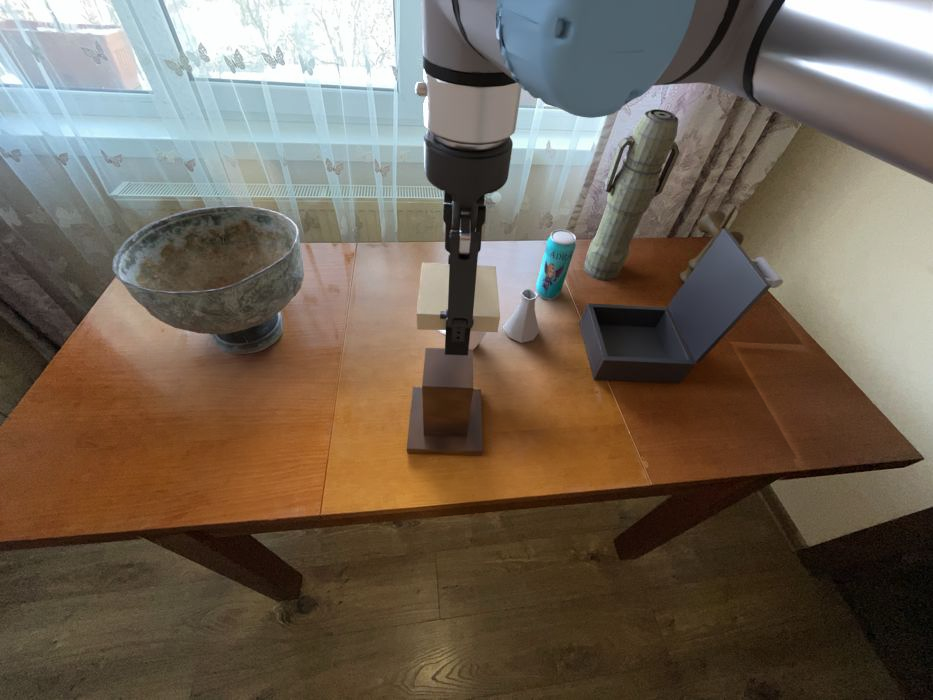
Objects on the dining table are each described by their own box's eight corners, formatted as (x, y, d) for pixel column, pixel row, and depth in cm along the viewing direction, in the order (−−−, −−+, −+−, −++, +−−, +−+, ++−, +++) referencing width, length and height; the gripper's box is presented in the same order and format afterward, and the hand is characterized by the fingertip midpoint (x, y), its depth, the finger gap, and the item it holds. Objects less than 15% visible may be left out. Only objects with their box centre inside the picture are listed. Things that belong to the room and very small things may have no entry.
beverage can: (532, 297, 90) (546, 240, 79) (537, 282, 94) (551, 225, 83) (557, 304, 89) (575, 247, 78) (561, 288, 93) (579, 232, 82)
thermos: (630, 280, 97) (704, 124, 70) (583, 281, 95) (642, 122, 69) (617, 258, 103) (682, 106, 76) (573, 258, 101) (623, 104, 75)
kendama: (684, 293, 95) (731, 217, 80) (670, 267, 101) (712, 193, 86) (708, 294, 95) (760, 219, 80) (693, 269, 102) (739, 194, 86)
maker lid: (766, 285, 58) (809, 291, 59) (723, 228, 68) (761, 234, 69) (695, 362, 72) (731, 366, 73) (667, 305, 82) (699, 309, 83)
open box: (593, 380, 76) (603, 360, 71) (579, 323, 86) (587, 303, 81) (680, 383, 77) (696, 364, 72) (656, 327, 87) (668, 307, 82)
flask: (520, 313, 87) (529, 276, 79) (545, 332, 83) (556, 296, 76) (496, 327, 83) (502, 291, 76) (520, 348, 80) (530, 312, 72)
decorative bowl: (150, 388, 68) (78, 297, 53) (188, 291, 84) (141, 201, 70) (314, 373, 73) (290, 288, 59) (320, 285, 90) (302, 201, 75)
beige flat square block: (493, 281, 51) (495, 266, 49) (497, 332, 45) (500, 317, 43) (422, 278, 50) (422, 262, 49) (417, 329, 44) (416, 313, 43)
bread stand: (480, 393, 72) (489, 337, 61) (481, 455, 64) (492, 404, 53) (413, 391, 72) (410, 334, 60) (406, 453, 64) (401, 401, 52)
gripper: (430, 87, 40) (431, 268, 57) (412, 194, 26) (420, 393, 43) (504, 92, 41) (483, 271, 58) (527, 200, 26) (490, 396, 43)
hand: (456, 323), depth 50 cm, fingers closed on beige flat square block, 9 cm apart
